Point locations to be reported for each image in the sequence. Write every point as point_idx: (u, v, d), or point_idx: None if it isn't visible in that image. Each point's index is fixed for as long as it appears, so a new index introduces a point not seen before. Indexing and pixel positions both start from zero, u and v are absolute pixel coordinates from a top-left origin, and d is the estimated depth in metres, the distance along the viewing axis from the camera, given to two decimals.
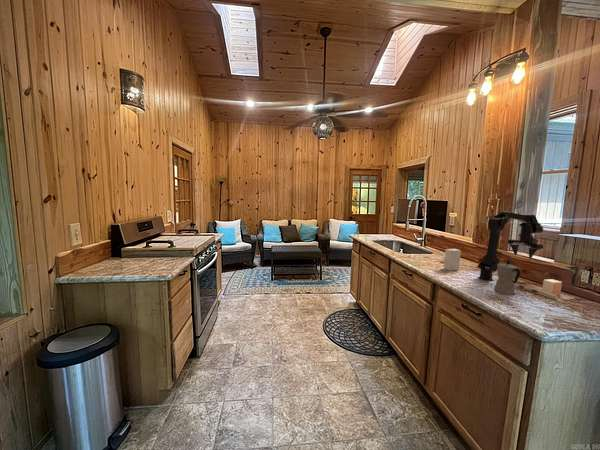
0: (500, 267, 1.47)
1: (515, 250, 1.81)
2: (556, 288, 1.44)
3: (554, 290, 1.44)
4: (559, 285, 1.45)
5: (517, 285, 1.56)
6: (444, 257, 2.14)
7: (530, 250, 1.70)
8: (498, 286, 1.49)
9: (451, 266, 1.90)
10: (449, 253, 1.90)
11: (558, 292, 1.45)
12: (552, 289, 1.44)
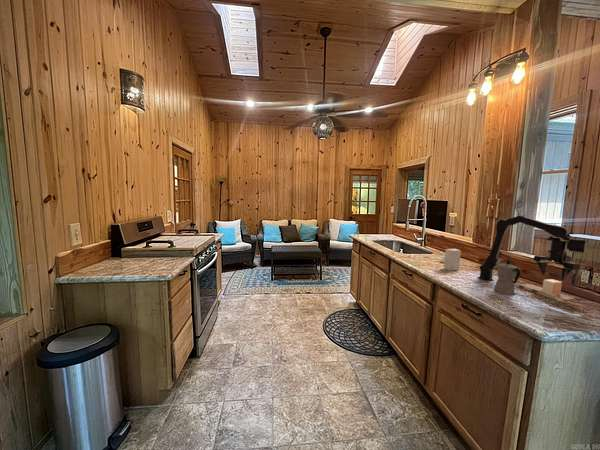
0: (500, 267, 1.47)
1: (543, 269, 1.50)
2: (556, 288, 1.44)
3: (554, 290, 1.44)
4: (559, 285, 1.45)
5: (517, 285, 1.56)
6: (443, 257, 2.14)
7: (564, 270, 1.39)
8: (498, 286, 1.49)
9: (451, 266, 1.90)
10: (449, 253, 1.90)
11: (558, 292, 1.45)
12: (552, 289, 1.44)
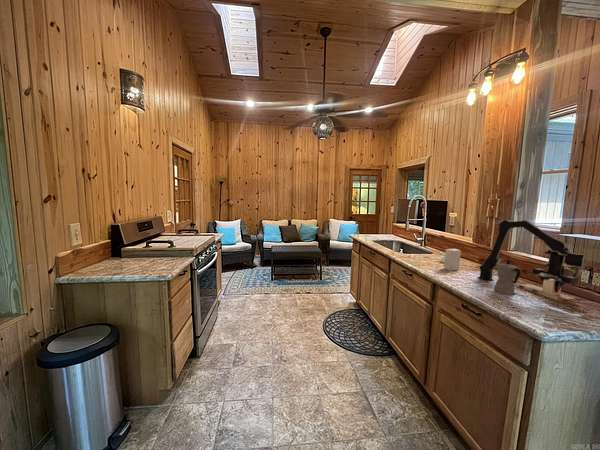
0: (500, 267, 1.47)
1: None
2: None
3: (554, 290, 1.44)
4: None
5: (517, 285, 1.56)
6: (442, 257, 2.13)
7: (557, 283, 1.42)
8: (498, 286, 1.49)
9: (451, 266, 1.90)
10: (449, 253, 1.90)
11: (558, 292, 1.45)
12: (552, 289, 1.44)
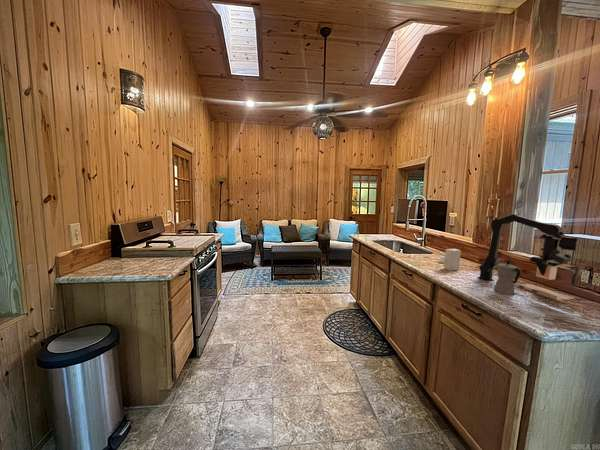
0: (500, 267, 1.47)
1: None
2: None
3: None
4: (547, 269, 1.45)
5: (517, 285, 1.56)
6: (442, 258, 2.12)
7: None
8: (498, 286, 1.49)
9: (451, 266, 1.90)
10: (449, 253, 1.90)
11: (546, 276, 1.45)
12: (537, 271, 1.49)
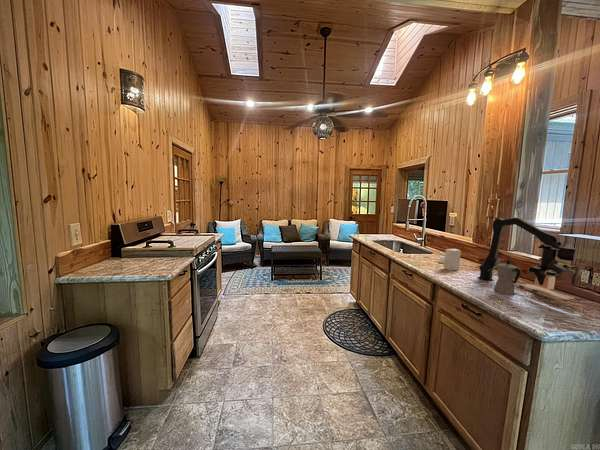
0: (500, 267, 1.47)
1: None
2: None
3: (538, 282, 1.49)
4: (545, 279, 1.45)
5: (517, 285, 1.56)
6: (441, 258, 2.12)
7: None
8: (498, 286, 1.49)
9: (451, 266, 1.90)
10: (449, 253, 1.90)
11: (544, 286, 1.46)
12: (536, 280, 1.50)
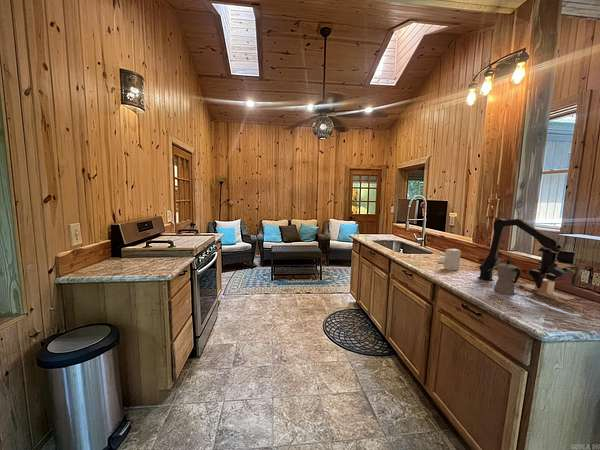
0: (500, 267, 1.47)
1: None
2: None
3: None
4: (545, 284, 1.46)
5: (517, 285, 1.56)
6: (441, 258, 2.11)
7: None
8: (498, 286, 1.49)
9: (451, 266, 1.90)
10: (449, 253, 1.90)
11: (544, 291, 1.46)
12: (535, 285, 1.50)
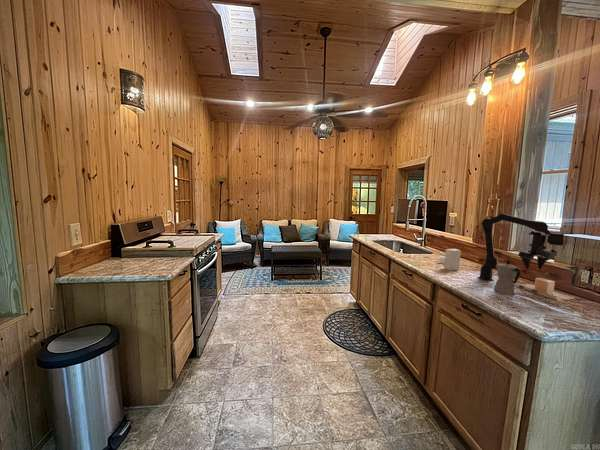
0: (500, 267, 1.47)
1: (539, 263, 1.58)
2: (540, 286, 1.48)
3: (538, 287, 1.49)
4: (545, 284, 1.46)
5: (517, 285, 1.56)
6: (441, 258, 2.10)
7: None
8: (498, 286, 1.49)
9: (451, 266, 1.90)
10: (449, 253, 1.90)
11: (544, 291, 1.46)
12: (535, 285, 1.50)
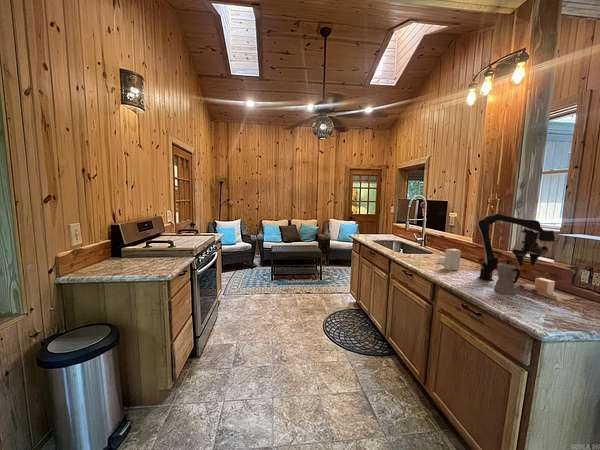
0: (500, 267, 1.47)
1: (532, 260, 1.64)
2: (540, 286, 1.48)
3: (538, 287, 1.49)
4: (545, 284, 1.46)
5: (517, 285, 1.56)
6: (440, 258, 2.09)
7: None
8: (498, 286, 1.49)
9: (451, 266, 1.90)
10: (449, 253, 1.90)
11: (544, 291, 1.46)
12: (535, 285, 1.50)
